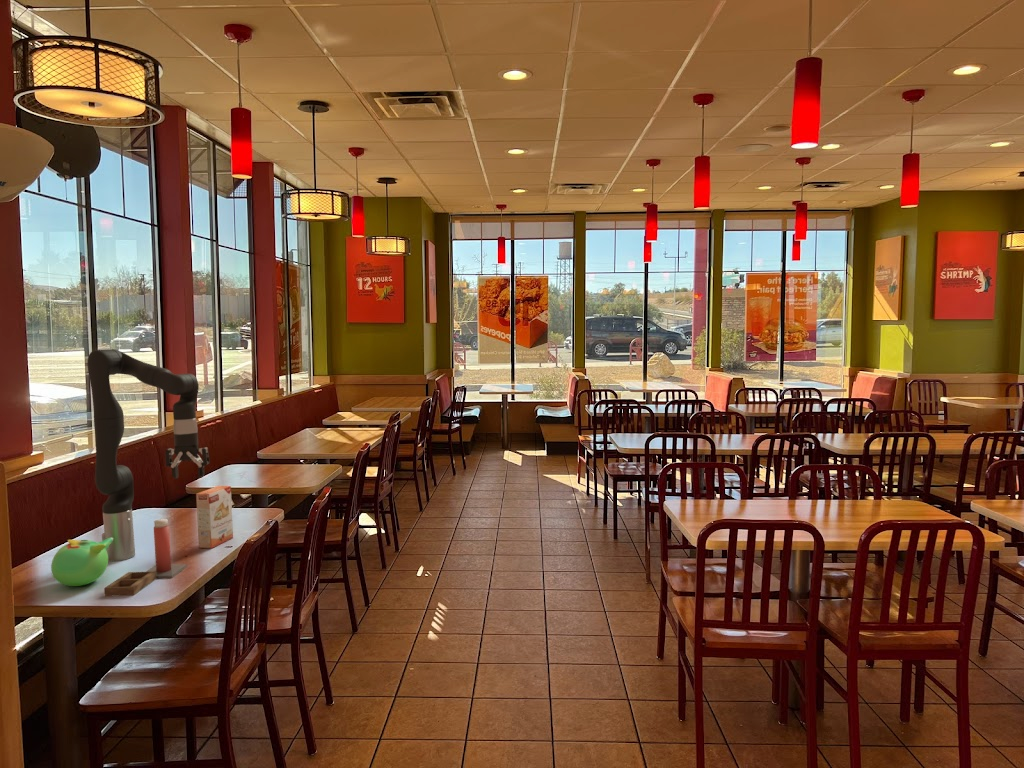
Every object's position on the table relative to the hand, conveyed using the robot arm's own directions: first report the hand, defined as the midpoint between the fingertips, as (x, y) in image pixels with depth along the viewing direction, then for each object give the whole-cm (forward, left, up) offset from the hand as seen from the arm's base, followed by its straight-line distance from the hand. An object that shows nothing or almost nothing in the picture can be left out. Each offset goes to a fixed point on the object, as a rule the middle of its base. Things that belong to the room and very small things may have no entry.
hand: (188, 477), depth 246 cm
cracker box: (-1, +22, -30) cm, 37 cm away
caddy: (-10, -23, -30) cm, 39 cm away
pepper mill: (-6, -10, -29) cm, 31 cm away
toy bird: (-28, -18, -30) cm, 45 cm away
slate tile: (-6, -10, -30) cm, 32 cm away
